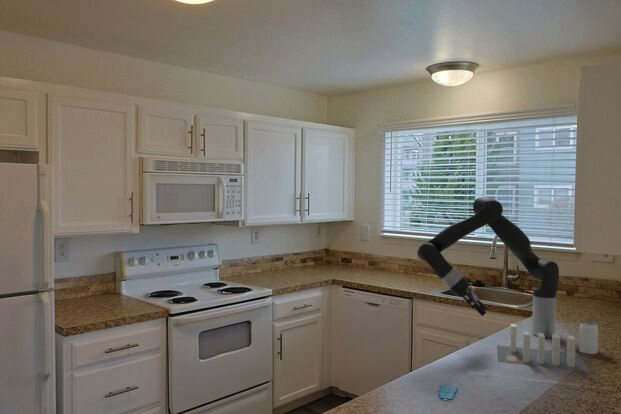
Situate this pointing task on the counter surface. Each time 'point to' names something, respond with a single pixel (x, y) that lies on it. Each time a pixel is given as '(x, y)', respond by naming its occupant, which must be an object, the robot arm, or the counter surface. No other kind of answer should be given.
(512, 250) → the robot arm
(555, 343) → the domino
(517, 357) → the slate mat
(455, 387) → the sponge
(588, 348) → the can
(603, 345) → the counter surface
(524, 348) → the domino
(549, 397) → the counter surface
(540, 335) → the domino
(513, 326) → the domino
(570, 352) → the domino
